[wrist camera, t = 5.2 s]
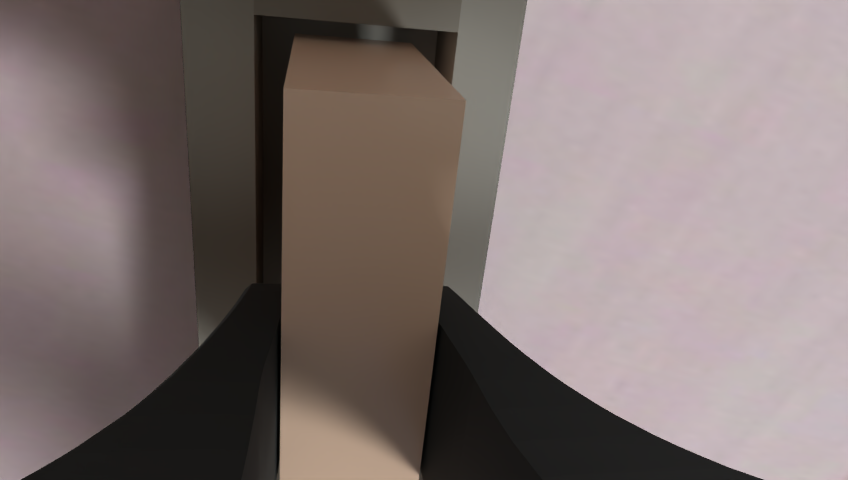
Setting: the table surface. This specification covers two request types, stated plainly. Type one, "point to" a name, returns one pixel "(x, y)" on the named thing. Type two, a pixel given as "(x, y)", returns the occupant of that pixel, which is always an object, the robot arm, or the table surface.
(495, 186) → the shallow rectangular tray
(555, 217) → the table surface
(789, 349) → the table surface
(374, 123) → the tan rectangular block
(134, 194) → the table surface
